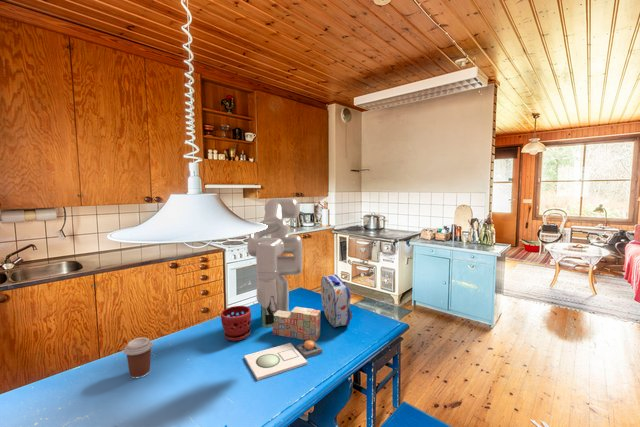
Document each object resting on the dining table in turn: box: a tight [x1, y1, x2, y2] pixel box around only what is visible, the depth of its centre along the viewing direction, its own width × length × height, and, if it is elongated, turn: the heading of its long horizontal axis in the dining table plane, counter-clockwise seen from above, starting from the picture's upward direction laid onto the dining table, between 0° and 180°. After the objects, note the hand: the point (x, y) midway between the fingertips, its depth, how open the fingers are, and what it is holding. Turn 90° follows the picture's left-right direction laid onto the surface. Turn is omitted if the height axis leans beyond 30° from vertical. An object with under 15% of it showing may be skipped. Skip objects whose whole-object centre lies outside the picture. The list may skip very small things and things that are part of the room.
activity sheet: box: [243, 342, 308, 381], centre depth 122 cm, size 16×20×1 cm
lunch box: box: [320, 274, 353, 328], centre depth 158 cm, size 28×10×22 cm, turn 15°
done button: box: [303, 340, 315, 351], centre depth 129 cm, size 4×4×2 cm
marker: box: [261, 304, 273, 329], centre depth 118 cm, size 4×4×10 cm
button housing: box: [295, 341, 323, 359], centre depth 129 cm, size 8×8×2 cm
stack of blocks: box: [272, 306, 321, 343], centre depth 142 cm, size 21×6×12 cm, turn 72°
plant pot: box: [220, 305, 252, 342], centre depth 141 cm, size 13×13×12 cm
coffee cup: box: [123, 336, 154, 378], centre depth 113 cm, size 9×9×12 cm
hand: (267, 320), depth 119 cm, fingers closed on marker, 4 cm apart
